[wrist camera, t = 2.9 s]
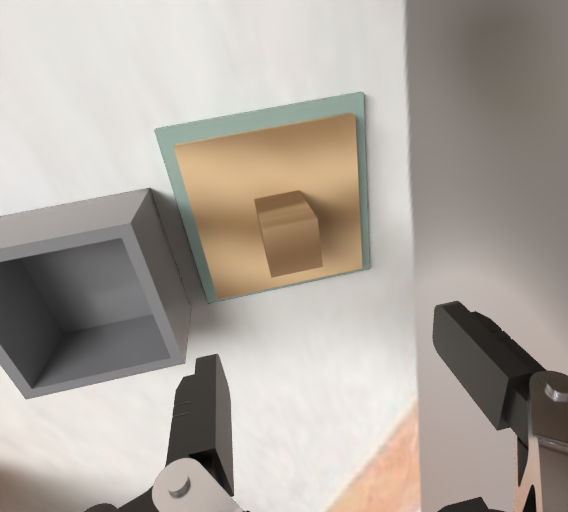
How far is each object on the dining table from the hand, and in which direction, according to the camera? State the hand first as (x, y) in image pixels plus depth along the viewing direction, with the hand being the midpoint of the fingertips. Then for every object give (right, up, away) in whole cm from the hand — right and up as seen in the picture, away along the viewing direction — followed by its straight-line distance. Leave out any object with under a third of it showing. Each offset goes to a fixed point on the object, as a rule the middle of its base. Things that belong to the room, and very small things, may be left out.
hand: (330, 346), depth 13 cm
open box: (-15, +2, +13) cm, 19 cm away
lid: (-2, +7, +12) cm, 14 cm away
